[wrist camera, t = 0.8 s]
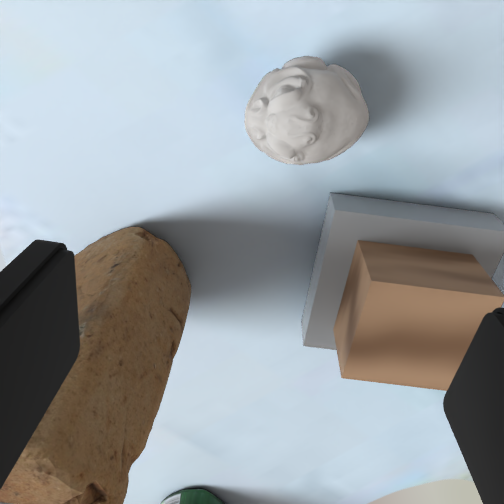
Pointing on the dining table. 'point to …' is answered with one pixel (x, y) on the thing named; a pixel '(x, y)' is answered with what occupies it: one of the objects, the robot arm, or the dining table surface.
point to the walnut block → (410, 314)
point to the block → (108, 374)
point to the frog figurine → (306, 112)
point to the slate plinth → (388, 232)
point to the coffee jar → (192, 497)
